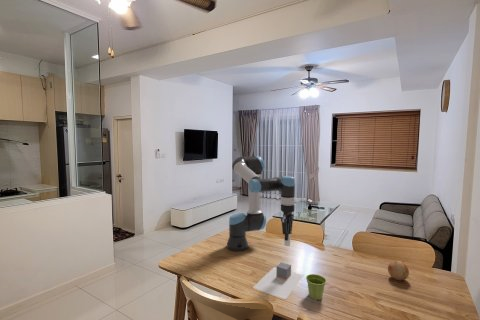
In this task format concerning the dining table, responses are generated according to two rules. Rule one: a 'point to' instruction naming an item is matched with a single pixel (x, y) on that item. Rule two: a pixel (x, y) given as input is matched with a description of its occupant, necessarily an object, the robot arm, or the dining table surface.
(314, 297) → the plant pot
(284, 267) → the flip cube
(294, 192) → the robot arm
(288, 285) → the grip mat
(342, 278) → the dining table surface
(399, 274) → the onion
